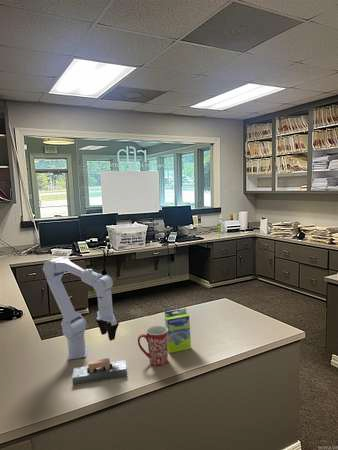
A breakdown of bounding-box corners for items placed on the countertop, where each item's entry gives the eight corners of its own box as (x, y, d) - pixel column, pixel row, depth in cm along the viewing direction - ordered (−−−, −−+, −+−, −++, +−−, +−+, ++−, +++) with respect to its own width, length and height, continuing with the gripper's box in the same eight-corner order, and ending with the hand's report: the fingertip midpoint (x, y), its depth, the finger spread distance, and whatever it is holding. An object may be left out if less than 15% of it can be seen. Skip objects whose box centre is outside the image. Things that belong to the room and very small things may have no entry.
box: (169, 353, 142) (166, 315, 140) (166, 349, 145) (163, 311, 144) (191, 348, 145) (189, 310, 143) (188, 344, 149) (186, 307, 147)
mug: (170, 355, 140) (168, 324, 139) (169, 366, 131) (167, 334, 130) (140, 356, 141) (138, 326, 139) (138, 368, 132) (135, 335, 130)
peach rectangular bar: (89, 376, 128) (88, 361, 128) (110, 372, 130) (109, 358, 129) (89, 379, 126) (88, 364, 125) (110, 375, 127) (109, 361, 127)
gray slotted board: (74, 375, 129) (73, 368, 129) (125, 367, 133) (125, 359, 133) (73, 385, 122) (72, 378, 122) (127, 376, 126) (126, 368, 126)
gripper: (89, 303, 140) (92, 334, 142) (103, 312, 129) (106, 345, 130) (104, 299, 144) (107, 329, 146) (120, 307, 133) (122, 340, 134)
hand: (108, 336), depth 138 cm, fingers open, 7 cm apart
